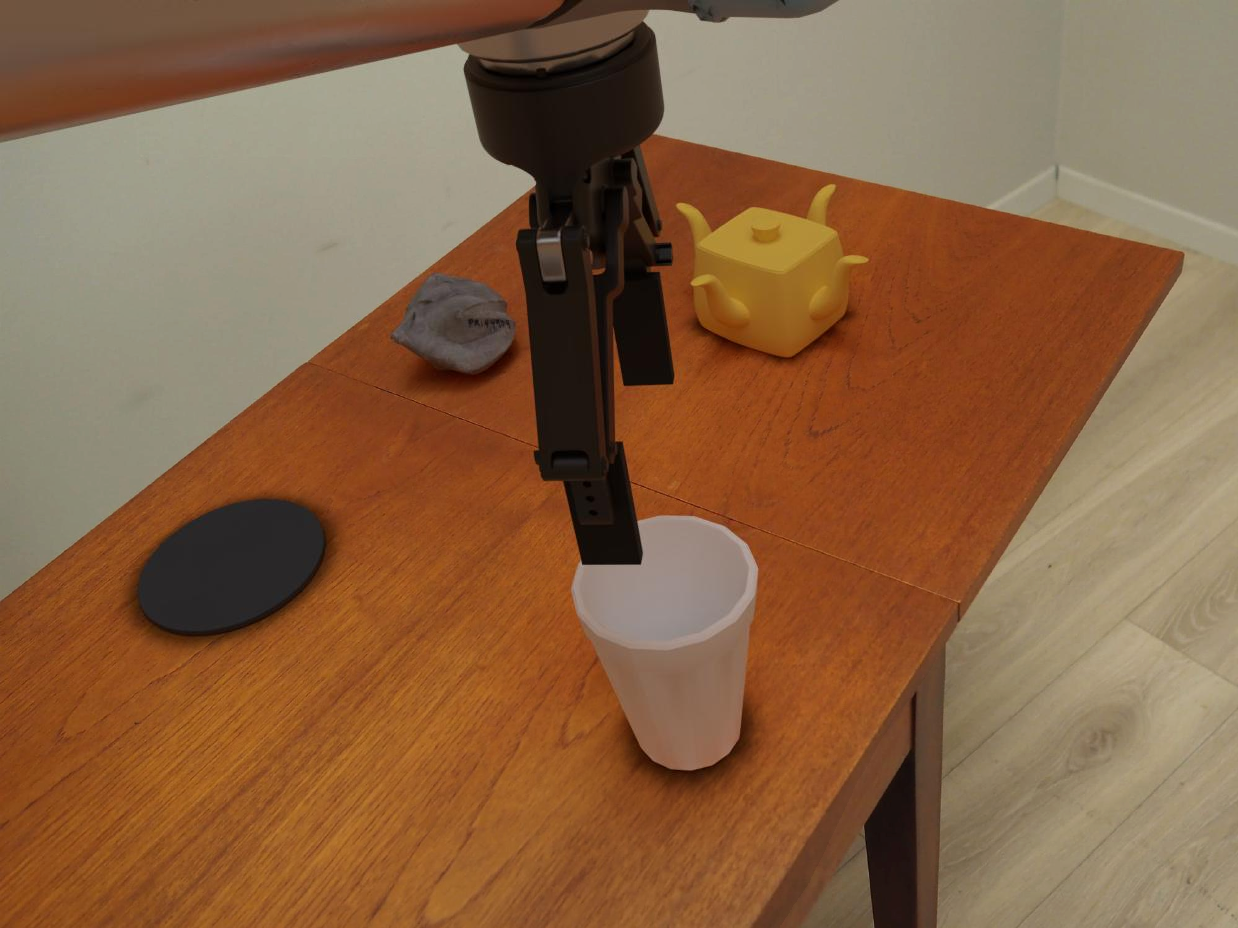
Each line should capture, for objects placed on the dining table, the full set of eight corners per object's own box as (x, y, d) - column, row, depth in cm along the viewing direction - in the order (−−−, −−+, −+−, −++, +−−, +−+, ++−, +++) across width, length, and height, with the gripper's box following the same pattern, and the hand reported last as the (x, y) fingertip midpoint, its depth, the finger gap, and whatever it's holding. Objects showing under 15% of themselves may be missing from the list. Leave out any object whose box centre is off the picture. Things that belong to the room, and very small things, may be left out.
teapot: (870, 353, 97) (869, 250, 91) (701, 377, 98) (689, 276, 92) (837, 266, 108) (834, 169, 102) (686, 288, 109) (674, 193, 103)
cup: (793, 684, 72) (781, 528, 63) (744, 821, 65) (724, 666, 57) (642, 652, 75) (612, 500, 67) (580, 778, 69) (539, 627, 60)
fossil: (456, 410, 99) (434, 331, 94) (384, 382, 104) (359, 305, 99) (541, 343, 105) (523, 265, 100) (469, 319, 110) (449, 244, 105)
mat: (212, 664, 80) (209, 659, 80) (103, 589, 88) (100, 584, 88) (363, 541, 88) (361, 537, 87) (251, 482, 96) (249, 477, 95)
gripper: (603, 180, 35) (682, 656, 48) (685, -73, 53) (726, 320, 67) (365, 197, 36) (506, 654, 49) (526, -55, 55) (597, 325, 68)
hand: (632, 463), depth 58 cm, fingers open, 13 cm apart
